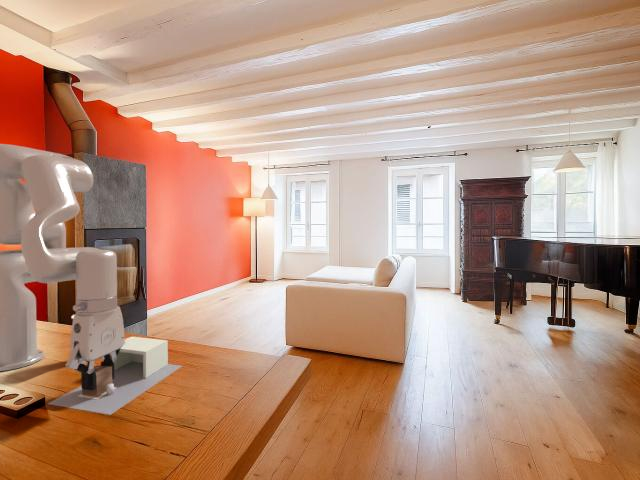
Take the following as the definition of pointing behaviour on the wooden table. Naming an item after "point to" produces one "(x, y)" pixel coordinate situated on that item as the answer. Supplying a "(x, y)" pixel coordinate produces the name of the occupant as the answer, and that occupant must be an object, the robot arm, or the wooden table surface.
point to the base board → (116, 389)
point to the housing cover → (143, 354)
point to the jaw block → (100, 380)
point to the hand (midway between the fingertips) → (98, 383)
